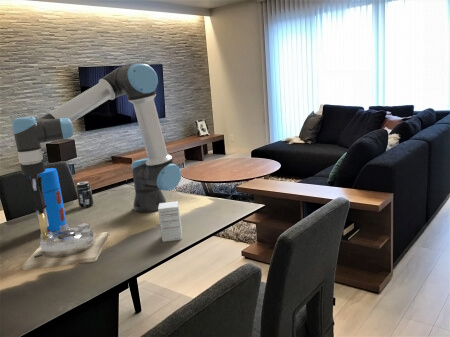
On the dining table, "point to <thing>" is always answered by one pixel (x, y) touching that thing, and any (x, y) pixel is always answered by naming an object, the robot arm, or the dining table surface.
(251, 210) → the dining table surface
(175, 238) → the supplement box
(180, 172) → the robot arm
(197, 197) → the dining table surface
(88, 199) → the beverage can
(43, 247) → the metal lathe chuck
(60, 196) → the thermos
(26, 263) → the birch base board
